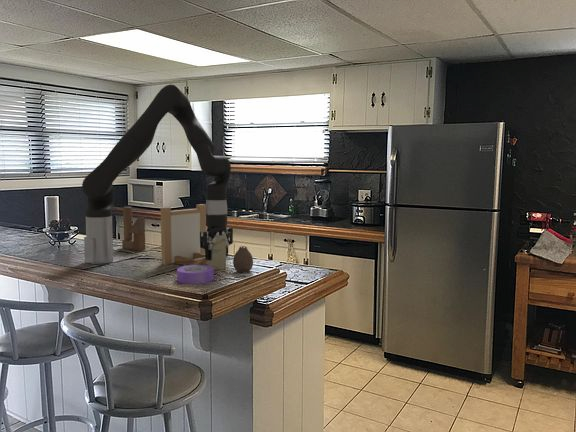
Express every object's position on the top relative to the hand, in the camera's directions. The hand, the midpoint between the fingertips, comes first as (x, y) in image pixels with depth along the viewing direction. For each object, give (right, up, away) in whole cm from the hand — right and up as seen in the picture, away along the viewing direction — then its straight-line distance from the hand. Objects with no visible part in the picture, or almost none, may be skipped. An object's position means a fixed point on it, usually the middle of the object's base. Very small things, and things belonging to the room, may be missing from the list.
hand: (216, 258), depth 177 cm
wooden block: (-41, +1, +37) cm, 55 cm away
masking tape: (-5, -6, -16) cm, 18 cm away
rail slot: (-10, -3, +9) cm, 14 cm away
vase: (+10, -5, -5) cm, 12 cm away
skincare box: (0, -4, 0) cm, 4 cm away
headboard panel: (-14, -2, +14) cm, 20 cm away
